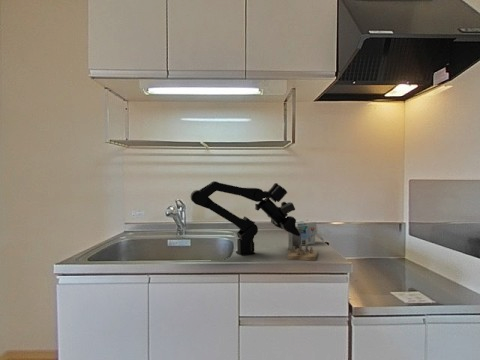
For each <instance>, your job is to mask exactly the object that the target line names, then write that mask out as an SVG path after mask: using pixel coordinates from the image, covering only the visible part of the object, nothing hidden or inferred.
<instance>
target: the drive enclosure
mask: <svg viewBox="0 0 480 360" xmlns="http://www.w3.org/2000/svg"><path fill="white" fill-rule="evenodd" d="M296 228H297V230H298V231H299V233H300V236H297V235H294V234H292V233H290V232H287V233H288V251H290V250H291V249H293V246H295V249H297V248H299V245H301V229H300V228H298V227H296Z"/></svg>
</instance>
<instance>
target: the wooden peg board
mask: <svg viewBox="0 0 480 360" xmlns="http://www.w3.org/2000/svg"><path fill="white" fill-rule="evenodd" d="M304 246H305V247H304V248H303V245H299V248H297V249H295V246H293V249H291V250H289V252H288V254H287V255H286V258H287V259H286V260H301V261H316V259H317V256H318V250H316V249H314V250H313V246H310V247H309V244H308V245H304Z"/></svg>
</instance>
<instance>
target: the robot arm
mask: <svg viewBox="0 0 480 360" xmlns="http://www.w3.org/2000/svg"><path fill="white" fill-rule="evenodd" d="M216 192H220V193H225V194H231V195H235V196H240V197H243V198H245V199H247V200H250V201H252V202H256V203H254V205H255V208H254V209H255V210H256V211H260V209H261V210H262V212H264V213H265V215H267V217H268V218H270V223H271V224H272V225H273V226H275V227H277V228H279V229H281V230H283V231H285V232H287V233H288V232H290V233H292V234H294V235H297V236H300V233H299V231H298V230H297V228H296V226H295V223H296V221H297V219H296V218H295V217H293V216H291V215H288V214H289V213H291V212H293V211H295V210H296V207H295V205H294V203H293V202H291V201H290V202H286V201H282V202H281V200H282V199H283V198H284V197H285V196H286V195H287V194H288V191H287V190H286V189H285V188H284V187H283V186H281V185H280V184H279V183H277V182H276V183H274V184H273V185H272V186H271V188H269V190H264V191H263V189H261V188H258V187H241V186H237V185H232V184H227V183H222V182H218V181H211V182H210V183H209V184H207V185H205V186H204V187H202V188H200V189H196V190H193V191H192V192H191V194H190V201H191V202H192V203H193V204H195V205H197V206H200V207H203V208H206V209H209V210H210V211H211V212H213V213H215V214H216V215H219V216H220V217H222V218H223V219H224V220H226V221H228V222H229V223H231V224H233V225H235V226H236V228H238V229H239V230H238V231H237V232H236V235H237V239H236V241H237V245H236V246H237V248H236V249H237V250H236V251H235V253H236V254H238V255H240V256H246V255H255V254H256V252H255V242H254V238H255V236H256V235H257V234H258V231H259V228H258V225H257V224H256V222H255V221H254V220H251V219H250V218H248V217H247V216H245V215H244V216H243V218H241V217H239V216H237V215H235V214H234V213H233V212H231V211H229V210H228V209H226V208H224V207H223V206H221V205H219V204H218V203H217V202H215V201H213V200H212V199H211V198H210V197H211V196H212V195H213V194H214V193H216ZM280 202H281V205H280V206H277V204H276V203H280Z"/></svg>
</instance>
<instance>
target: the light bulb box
mask: <svg viewBox="0 0 480 360" xmlns="http://www.w3.org/2000/svg"><path fill="white" fill-rule="evenodd" d="M295 226H296V227H298V228H300V229H301V245H302V246H305V245H308V246H309V245H316V221H312V220H308V219H307V220H296V223H295Z"/></svg>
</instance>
